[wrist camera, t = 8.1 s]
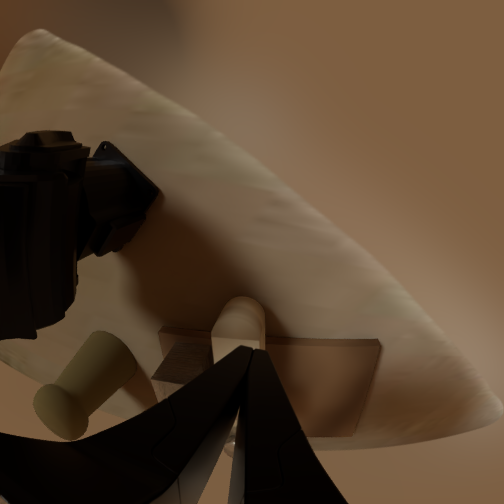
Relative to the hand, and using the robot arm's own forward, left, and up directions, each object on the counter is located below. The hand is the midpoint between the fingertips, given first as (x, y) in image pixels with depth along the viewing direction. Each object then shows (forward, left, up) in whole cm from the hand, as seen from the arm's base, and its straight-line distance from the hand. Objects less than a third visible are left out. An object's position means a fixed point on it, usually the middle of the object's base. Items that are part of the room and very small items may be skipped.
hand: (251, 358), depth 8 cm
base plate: (+8, -10, -12) cm, 18 cm away
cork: (-4, -20, -12) cm, 24 cm away
